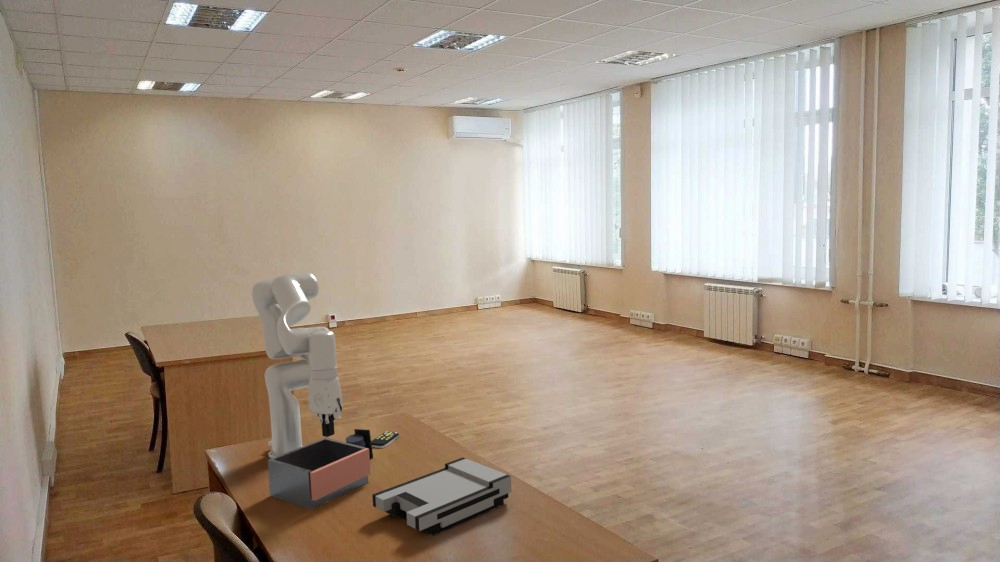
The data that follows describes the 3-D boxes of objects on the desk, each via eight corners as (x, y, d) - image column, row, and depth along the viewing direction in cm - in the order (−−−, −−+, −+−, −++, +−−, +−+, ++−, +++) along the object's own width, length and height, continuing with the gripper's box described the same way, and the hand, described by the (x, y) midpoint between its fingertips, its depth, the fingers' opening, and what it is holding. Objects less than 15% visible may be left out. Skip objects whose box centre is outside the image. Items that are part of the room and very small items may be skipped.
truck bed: (270, 496, 210) (267, 460, 209) (327, 470, 228) (325, 437, 227) (311, 510, 200) (309, 472, 199) (368, 482, 218) (366, 447, 217)
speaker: (360, 454, 241) (358, 425, 239) (373, 458, 238) (370, 429, 236) (344, 463, 235) (341, 434, 233) (357, 468, 232) (354, 438, 229)
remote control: (367, 448, 249) (367, 442, 248) (385, 435, 261) (385, 430, 260) (383, 449, 247) (383, 444, 246) (400, 437, 258) (400, 431, 258)
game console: (373, 519, 194) (372, 490, 193) (463, 483, 216) (462, 457, 215) (420, 545, 179) (418, 513, 178) (511, 504, 201) (510, 476, 200)
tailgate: (311, 499, 200) (310, 472, 199) (367, 473, 217) (366, 448, 216) (314, 500, 199) (313, 473, 198) (370, 474, 217) (369, 448, 216)
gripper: (296, 373, 208) (301, 435, 210) (332, 379, 199) (336, 443, 201) (316, 368, 214) (321, 428, 216) (352, 373, 205) (356, 435, 207)
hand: (328, 435), depth 209 cm, fingers closed
